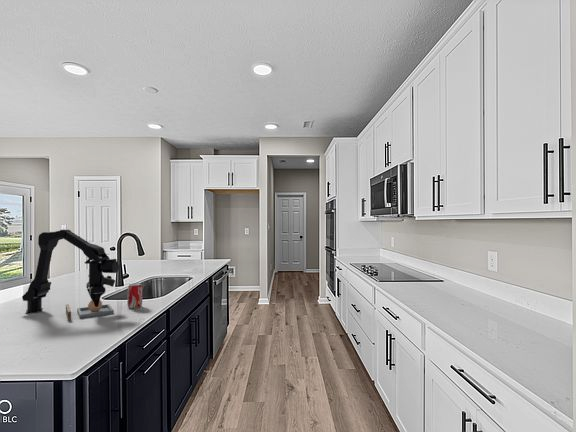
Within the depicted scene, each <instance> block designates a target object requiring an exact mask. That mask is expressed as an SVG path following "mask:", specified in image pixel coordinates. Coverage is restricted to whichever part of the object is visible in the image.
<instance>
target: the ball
mask: <svg viewBox="0 0 576 432" xmlns="http://www.w3.org/2000/svg"><path fill="white" fill-rule="evenodd" d="M102 305H103V303H102V301H101V300H100V301H99V305H98V307H95V305H94V302H93V300H92V299H91V300H90V301H89V303H88V306H87V307H88V308H89V310H90V311H92V312H97V311H99V310H100V309H101V308H102Z"/></svg>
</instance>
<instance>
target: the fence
mask: <svg viewBox="0 0 576 432" xmlns="http://www.w3.org/2000/svg"><path fill="white" fill-rule="evenodd" d="M65 314H66V318H67V322H69V321H72V309H71V307H70V304H65Z"/></svg>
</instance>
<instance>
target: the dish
mask: <svg viewBox="0 0 576 432" xmlns="http://www.w3.org/2000/svg"><path fill="white" fill-rule="evenodd" d="M76 313H77V316H78V318H79V319H80V320H81V319H88V318H94V317H95V318H96V317H102V316H108V315H114V313H115V310H114V309H113V307H112V306H111V305H110V303H109V304H102V308H101V309H100V310H99V311H97V312H92V311H90V310H89V308H88V306H85V307H78V308H76Z"/></svg>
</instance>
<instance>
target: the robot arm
mask: <svg viewBox="0 0 576 432" xmlns="http://www.w3.org/2000/svg"><path fill="white" fill-rule="evenodd" d="M37 237H38V238H37V239H38V241H37V242H38V243H37V244H38V246H39V249H40V251H39V256H38V261H37V266H36V271H35V276H34V279H32V281H31V282H30V284H29V286H28V288H27V291H26V292H25V293H24V294H23V295H22V296H21V298H22V301H23V302H26V303H27V305H26V308H27V309H26V311H25V314H26V315H27V314H34V313H42V312H44V311H43V306H42V305H43V304H42V303H43V302H42V301H43V299H42V298H46V297H47V293H49V291H50V290H51V285H52V281H49V280H48V275H49V271H50V267H51V260H52V255H53V251H54V249H55V248H56V247H57V245H58V243H59V241H60V240H65V241H67V242H68V243H69V244H71V245H73V246H75V247H76V248H78V249H80V250H81V251H82V253H83V255H84V256H86V258H88V259H86V261H85V262H84V264H87V265H88V282H87V283H86V290H87V292H88V295H89V297H90V300H91V301H92V300H93V302H94V305H95V307H98V305H99V301H101V298H102V296H103V295H104V294H105V293H106V287H105V285H106V286H110V287H112V288H113V287H114V285H115V282H116V280H115V279H114V278H113V277H112V276H111V275H107V276H104V274H116V273H118V272H119V269H120V263H119V262H118V261H117V258H112V259H111V258H109V256H108V254H107V253H106V251H105V248H103V247H102V246H100V245H98V244H93V243H90V242H88V241H87V240H86V239H84V238H82V237H81V236H79V235H78V234H76V233H74V232H73V231H72V230H70V229H60V230H56V231H44V232H41V233H40V234H39V235H38V236H37Z"/></svg>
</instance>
